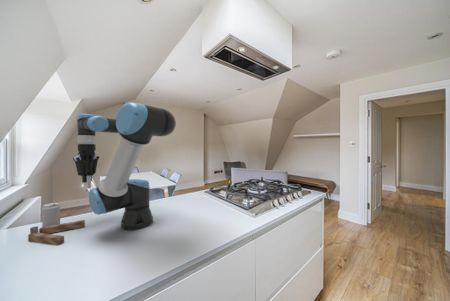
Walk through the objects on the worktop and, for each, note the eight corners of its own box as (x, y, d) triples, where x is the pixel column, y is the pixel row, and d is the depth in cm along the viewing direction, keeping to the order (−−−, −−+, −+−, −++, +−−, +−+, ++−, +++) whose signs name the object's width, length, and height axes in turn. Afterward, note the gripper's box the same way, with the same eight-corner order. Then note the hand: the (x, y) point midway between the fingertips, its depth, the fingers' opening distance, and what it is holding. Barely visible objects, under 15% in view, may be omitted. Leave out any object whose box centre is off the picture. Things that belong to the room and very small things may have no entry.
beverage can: (49, 232, 85) (48, 206, 85) (38, 230, 86) (38, 205, 86) (63, 226, 91) (63, 202, 91) (53, 225, 93) (53, 201, 92)
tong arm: (84, 225, 92) (84, 219, 92) (84, 226, 90) (84, 221, 90) (40, 233, 83) (40, 227, 83) (39, 235, 81) (39, 229, 81)
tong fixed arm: (69, 240, 78) (69, 230, 78) (58, 245, 74) (58, 234, 73) (35, 235, 81) (35, 226, 81) (23, 240, 77) (23, 230, 77)
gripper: (92, 144, 103) (92, 185, 103) (67, 143, 90) (68, 190, 90) (103, 143, 101) (104, 185, 102) (80, 143, 88) (80, 191, 88)
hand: (87, 188), depth 96 cm, fingers closed
